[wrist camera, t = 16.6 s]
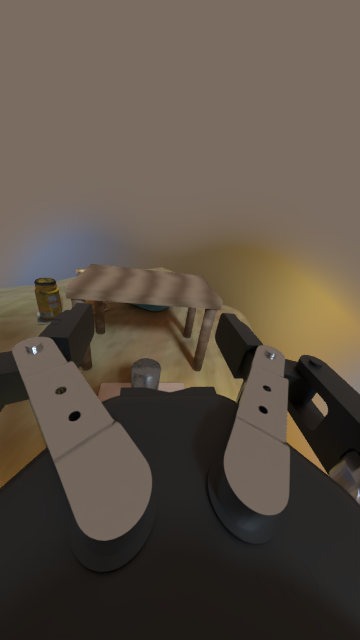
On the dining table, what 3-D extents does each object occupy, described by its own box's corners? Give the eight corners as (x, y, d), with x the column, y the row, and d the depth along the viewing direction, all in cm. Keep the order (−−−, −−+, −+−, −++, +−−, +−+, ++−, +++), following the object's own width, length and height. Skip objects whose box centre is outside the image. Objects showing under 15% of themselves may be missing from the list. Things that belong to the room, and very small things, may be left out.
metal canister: (129, 428, 33) (130, 378, 27) (131, 406, 37) (132, 358, 31) (155, 427, 34) (161, 378, 28) (154, 405, 38) (159, 358, 32)
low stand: (77, 371, 43) (64, 287, 34) (96, 329, 59) (91, 263, 49) (203, 372, 49) (222, 301, 39) (190, 333, 64) (202, 275, 55)
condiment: (62, 309, 66) (57, 276, 60) (66, 321, 60) (60, 285, 54) (37, 312, 62) (28, 277, 56) (38, 325, 56) (28, 287, 50)
